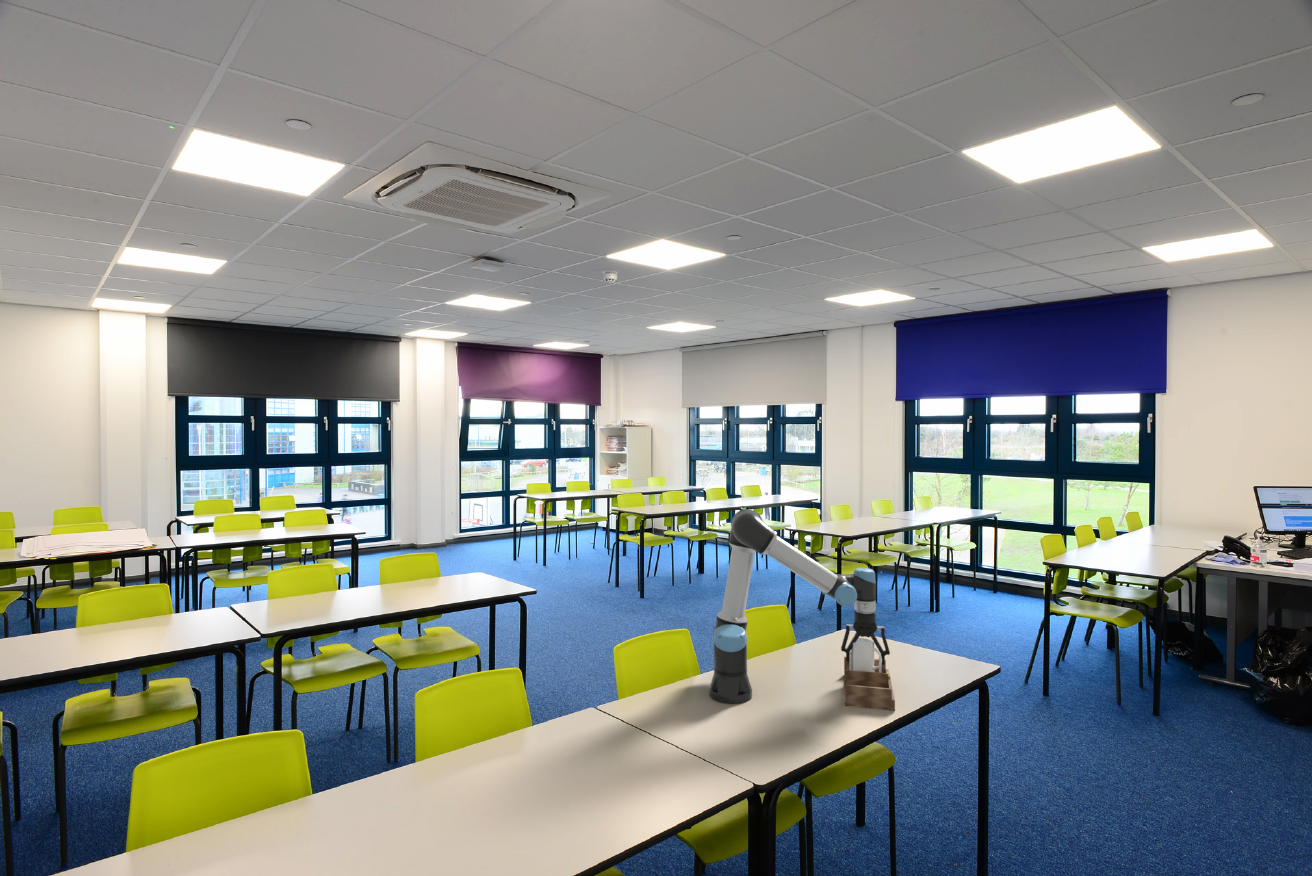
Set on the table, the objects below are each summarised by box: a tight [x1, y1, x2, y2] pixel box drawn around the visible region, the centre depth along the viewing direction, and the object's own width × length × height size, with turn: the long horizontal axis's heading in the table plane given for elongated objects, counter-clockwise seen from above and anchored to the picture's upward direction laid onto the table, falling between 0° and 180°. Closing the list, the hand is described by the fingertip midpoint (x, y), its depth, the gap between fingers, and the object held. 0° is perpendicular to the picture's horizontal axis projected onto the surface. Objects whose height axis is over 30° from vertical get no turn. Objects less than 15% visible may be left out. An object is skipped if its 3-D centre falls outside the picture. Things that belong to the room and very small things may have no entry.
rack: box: [843, 656, 896, 711], centre depth 238 cm, size 16×30×7 cm, turn 165°
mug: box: [850, 637, 882, 672], centre depth 245 cm, size 12×8×12 cm
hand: (865, 671), depth 245 cm, fingers closed on mug, 10 cm apart
